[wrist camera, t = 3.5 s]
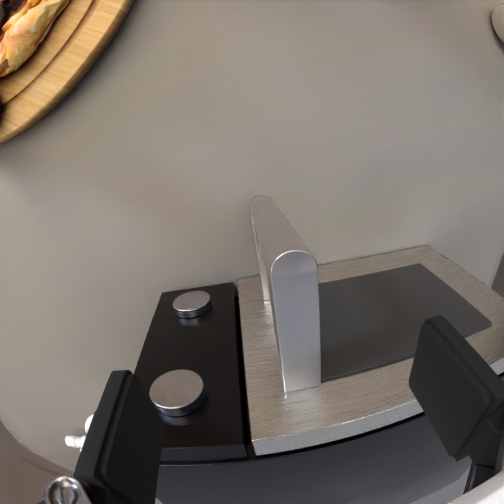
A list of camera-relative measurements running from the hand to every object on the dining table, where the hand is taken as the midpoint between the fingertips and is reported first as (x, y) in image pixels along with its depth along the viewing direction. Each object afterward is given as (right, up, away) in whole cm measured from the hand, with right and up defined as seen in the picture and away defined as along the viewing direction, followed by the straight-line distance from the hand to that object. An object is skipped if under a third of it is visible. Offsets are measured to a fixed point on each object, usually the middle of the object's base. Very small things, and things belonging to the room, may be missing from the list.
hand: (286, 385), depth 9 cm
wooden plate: (-26, +30, +7) cm, 41 cm away
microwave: (+6, -7, +24) cm, 26 cm away
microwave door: (+7, +6, +19) cm, 21 cm away
